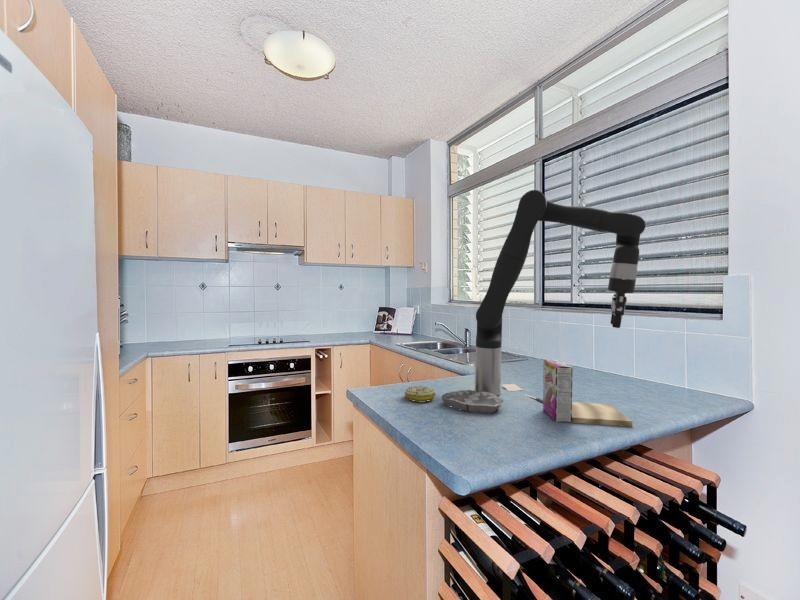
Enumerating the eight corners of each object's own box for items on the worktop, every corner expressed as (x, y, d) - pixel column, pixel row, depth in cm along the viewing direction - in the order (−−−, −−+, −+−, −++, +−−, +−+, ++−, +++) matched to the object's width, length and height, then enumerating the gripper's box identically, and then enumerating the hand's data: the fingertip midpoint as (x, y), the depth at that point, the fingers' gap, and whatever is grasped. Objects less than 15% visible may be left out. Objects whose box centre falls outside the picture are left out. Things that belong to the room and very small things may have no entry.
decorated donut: (424, 393, 136) (425, 383, 136) (440, 401, 127) (441, 390, 127) (399, 396, 131) (399, 386, 131) (414, 405, 122) (414, 393, 122)
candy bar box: (541, 410, 118) (542, 359, 118) (557, 410, 118) (558, 359, 118) (554, 422, 107) (556, 366, 107) (572, 423, 107) (573, 366, 106)
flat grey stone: (507, 403, 126) (507, 394, 126) (498, 418, 110) (498, 408, 110) (451, 395, 134) (451, 387, 134) (436, 409, 119) (436, 399, 119)
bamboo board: (572, 422, 107) (572, 417, 107) (557, 405, 123) (557, 401, 123) (632, 426, 105) (632, 421, 105) (609, 408, 120) (609, 404, 120)
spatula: (514, 387, 148) (514, 383, 148) (567, 410, 120) (567, 406, 120) (500, 388, 146) (500, 384, 146) (551, 412, 118) (551, 407, 118)
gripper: (608, 276, 130) (601, 321, 132) (611, 276, 117) (603, 326, 119) (633, 278, 126) (625, 325, 128) (639, 279, 114) (630, 330, 116)
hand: (614, 325), depth 124 cm, fingers open, 8 cm apart
